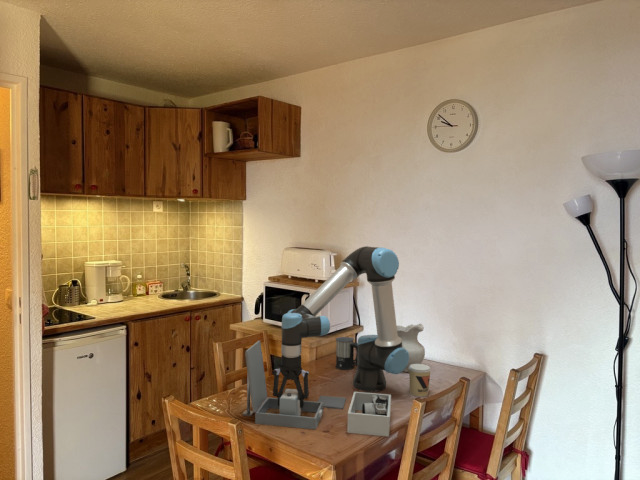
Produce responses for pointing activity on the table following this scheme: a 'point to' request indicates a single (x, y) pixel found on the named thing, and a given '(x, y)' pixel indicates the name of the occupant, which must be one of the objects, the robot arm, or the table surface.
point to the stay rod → (248, 401)
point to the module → (289, 402)
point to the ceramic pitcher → (412, 343)
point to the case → (289, 419)
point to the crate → (368, 416)
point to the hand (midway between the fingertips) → (290, 414)
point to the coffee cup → (419, 379)
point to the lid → (256, 375)
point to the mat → (332, 402)
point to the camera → (376, 406)
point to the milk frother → (345, 353)
